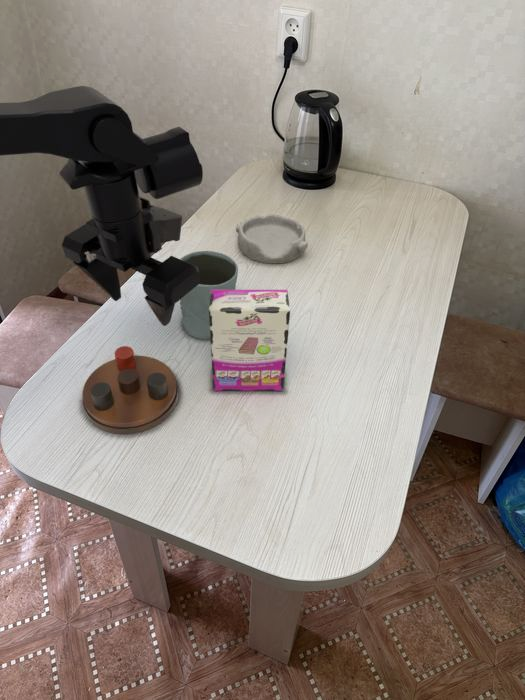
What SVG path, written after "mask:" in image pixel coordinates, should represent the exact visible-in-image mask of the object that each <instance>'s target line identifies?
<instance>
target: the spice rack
mask: <svg viewBox="0 0 525 700" xmlns="http://www.w3.org/2000/svg"><path fill="white" fill-rule="evenodd" d="M114 357H115V358H114V359H111V360H108V361H107V362H105V363H103V364H102V365H100V366H98V367H97V368H96V369H94V371H92V372H91V374H90V375H89V376H88V378H87V379H86V381H85V383H84V385H83V387H82V402H83V401H84V405H85V407H86V410H87V411H88V413H89V414H90V415H91V416H92V417H93V418H94V419H95V420H97V421H99V422H100V423H103V424H105V425H108V426H112V427H122V428H125V427H135V426H139V425H143V424H146V423H148V422H150V421H153V420H154V419H156V418H158V417H159V416H161V415H162V414H163V413H164V412H165V411H166V410H167V409H168V408H169V407H170V406H171V404H172V402H173V401H174V398H175V395H176V381H177V379H176V377H175V374H174V373H173V370H172V369H171V368H170V367H169V366H168V365H167V364H166V363H164V362H163V361H161V360H159V359H157V358H154V357H151V356H146V355H139V354H138V355H137V354H136V355H135V352H134V349H133V348H132V347H131V346H128V345H123V346H120V347H118V348H116V349H115V351H114ZM175 379H176V380H175Z"/></svg>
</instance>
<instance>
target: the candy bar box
mask: <svg viewBox="0 0 525 700" xmlns="http://www.w3.org/2000/svg"><path fill="white" fill-rule="evenodd" d="M290 321H291V307H290V300H289V291H288V289H235V290H221V289H211V295H210V303H209V324H210V339H209V340H210V356H211V357H210V358H211V375H212V390H213V392H214V391H215V392H257V391H258V392H265V391H266V392H275V391H276V392H278V391H280V392H283V391H284V387H285V376H286V375H285V374H286V364H287V363H286V362H287V350H288V340H289V331H290V330H289V328H290Z"/></svg>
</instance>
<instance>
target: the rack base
mask: <svg viewBox="0 0 525 700" xmlns="http://www.w3.org/2000/svg"><path fill="white" fill-rule="evenodd" d="M175 380H176V395H175V398H174V401H173V402H172V404H171V406H170V407H169V408H168V409H167V410H166V411H165V412H164V413H163V414H162V415H161V416H159V417H158V418H156V419H154V420H153V421H150V422H148V423H146V424H143V425H139V426H135V427H125V428H122V427H112V426H108V425H105V424H103V423H100V422H99V421H97V420H95V419H94V418H93V417H92V416H91V415H90V414H89V413H88V411H87V410H86V407H85V405H84V401H83V400H82V406H83V409H84V412H85V416H86V417H87V419H88V420H89V421H90V423H91V424H93V426H95V427H96V428H98V429H100V430H101V431H104V432H106V433H109V434H114V435H134V434H135V435H136V434H139V433H143V432H146V431H150V430H151V429H154V428H155V427H157V426H159V425H161V424H162V423H163V422H164V421H166V420H167V419H168V418H169V417H170V416H171V414H172V413H173V412H174V410H175V408H176V406H177V405H178V401H179V386H178V382H177V379H176V378H175Z"/></svg>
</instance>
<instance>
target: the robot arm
mask: <svg viewBox="0 0 525 700" xmlns="http://www.w3.org/2000/svg"><path fill="white" fill-rule="evenodd" d="M29 154H42V155H43V154H44V155H52V156H57V157H60V158H65V159H67V162H66V164H64V166H63V167H62V168H61V170H60V171H59V173H58V176H59V177H60V178H61V179H62V181H63V182H64V183H65V184H66V185H67V186H68V187H69V188H70V189H71V190H74V191H75V190H78V189H81V188H83V190H84V193H85V197H86V201H87V204H88V208H89V211H90V215H91V219H89V220H87V221H86V222H85V224H83V225H81V226H79V227H78V228H76V229H74V230H72V231H70V232H69V233H68V234H66V235H65V236H64V238H63V240H62V242H61V248H62V251H63V254H64V257H65V258H66V259H69V260H70V261H72V263H73V265H74V266H76V267H78V268H79V269H80V270H81V271H82V272H83V273H84V274H85V275H86V276H87V277H89V278H90V279H91V280H92V281H93V282H94V283H95V284H96V285H97V286H98V287H100V288H101V289H102V290H103V292H104V293H106V295H108V296H109V297H110V298H111V299H112V300H113V301H115V302H118V301H119V300H121V298H122V290H121V289H122V288H121V283H120V279H119V273H118V270H119V271H121V272H124V273H125V272H127V271H128V270H130V269H131V270H134V271H136V272H138V273H140V274H142V275H144V279H143V281H142V289H143V292H144V293H145V294H146V296H145V297H144V299H145V301H146V303H147V305H148V306H149V307H150V309H151V311H152V312H153V314H154V315H155V317H156V319H157V320H158V321H159V323H160V324H161V325H162V326H163V327H166V326H167V325H169V324H170V323H171V320H172V316H173V313H174V309H175V306H176V304H177V303H178V302H179V301H180V299H181V298H183V297H184V296H185V295H186V294H188V293H189V292H190V291H191V290H192V289H194V288H195V287H196V286H197V285H199V284H200V277H199V270H198V267H197V266H194V265H192V264H190V263H187V262H185V261H183V260H180V259H181V258H178V257H176V256H173V255H170V256H169V257H168V258H166V259H165V260H163V261H160V260H158V259H155V258H154V257H152V256H151V254H158V252H160V251H161V250H163V248H162V244H165V243H169V242H173V241H174V242H178V241H180V240H181V231H182V224H183V215H181V214H179V213H177V212H174V211H171V210H169V209H166V208H163V207H160V206H156V205H153V204H151V202H150V200H149V199H148V198H147V199H146V198H145V197H142V196H140V192H139V189H140V191H141V192H142V193H143V194H149V195H150V196H151V197H152V199H155V200H160V199H162V198H163V199H164V198H166V197H168V196H171V195H174V194H177V193H181V192H183V191H186V190H189V189H192V188H195V187H198V186H200V185H201V184H202V182H203V176H204V173H203V172H204V171H203V165H202V163H201V162H200V159H199V156H198V153H197V152H196V150H195V148H194V146H193V144H192V142H191V139H190V132H189V131H187V130H185V129H184V128H182V127H181V126H177V127H173V128H171V129H168V130H167V131H165V132H162V133H158V134H156V135H152V136H149V137H144V138H142V137H141V136H140V135H138V134H137V133H135V132H134V129H133V124H132V120H131V119H130V117H129V115H128V113H127V112H126V111H125V109H123V108H122V106H120V105H118V104H117V103H116V102H115V101H113V100H112V99H110V98H108V96H106V95H104V94H103V93H102V92H100V90H97V89H96V88H93V87H92V86H87V85H79V86H78V85H77V86H73V87H68V88H64V89H58V90H54V91H50V92H47V93H45V94H43V95H41V96H38V97H36V98H34V99H30V100H26V101H21V102H20V101H19V102H0V156H12V155H13V156H15V155H16V156H17V155H29Z"/></svg>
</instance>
